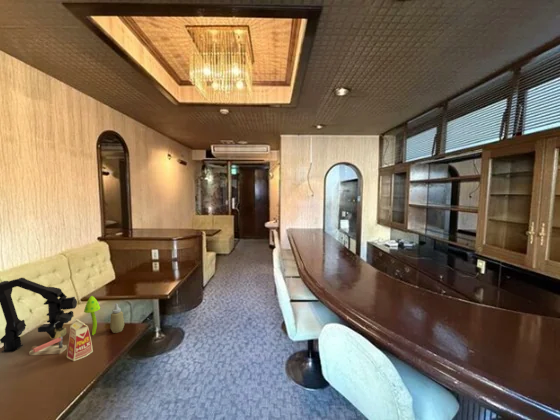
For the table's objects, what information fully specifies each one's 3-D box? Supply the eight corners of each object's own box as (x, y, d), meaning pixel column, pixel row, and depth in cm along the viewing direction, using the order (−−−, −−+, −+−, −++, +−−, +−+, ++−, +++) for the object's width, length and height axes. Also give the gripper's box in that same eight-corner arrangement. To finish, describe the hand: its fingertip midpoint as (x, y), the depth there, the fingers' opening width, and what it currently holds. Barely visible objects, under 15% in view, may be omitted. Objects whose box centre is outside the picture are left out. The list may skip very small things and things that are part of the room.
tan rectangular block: (49, 338, 154) (49, 331, 154) (55, 334, 158) (55, 328, 158) (60, 338, 155) (60, 331, 154) (66, 334, 159) (66, 327, 159)
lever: (35, 352, 137) (35, 349, 137) (33, 351, 137) (32, 348, 137) (63, 339, 149) (63, 337, 149) (61, 339, 149) (61, 336, 149)
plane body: (28, 355, 145) (28, 344, 144) (36, 350, 150) (35, 339, 149) (60, 353, 146) (59, 342, 146) (67, 348, 151) (66, 337, 151)
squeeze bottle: (127, 328, 174) (126, 301, 173) (118, 334, 166) (117, 306, 165) (116, 327, 175) (115, 301, 174) (107, 333, 167) (105, 306, 166)
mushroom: (81, 337, 162) (79, 298, 161) (92, 330, 170) (90, 293, 169) (95, 338, 162) (93, 298, 160) (104, 331, 170) (102, 293, 169)
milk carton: (66, 357, 143) (64, 321, 142) (85, 348, 151) (83, 314, 150) (75, 362, 139) (73, 325, 137) (94, 352, 147) (92, 317, 146)
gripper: (57, 316, 147) (59, 343, 148) (79, 303, 166) (81, 327, 166) (36, 317, 146) (37, 345, 147) (60, 304, 164) (62, 328, 165)
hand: (56, 335), depth 156 cm, fingers closed on tan rectangular block, 4 cm apart
